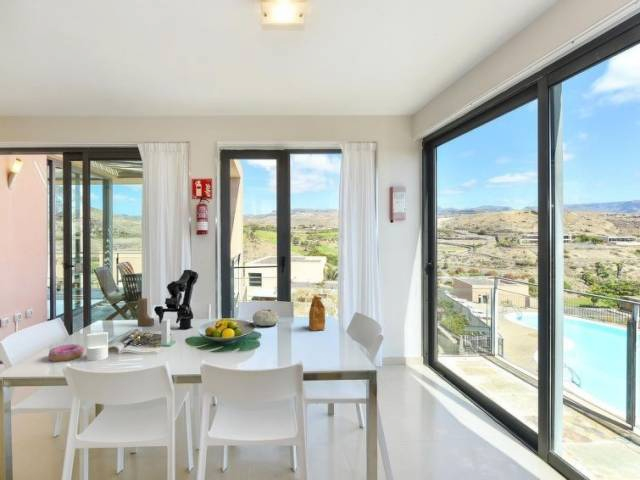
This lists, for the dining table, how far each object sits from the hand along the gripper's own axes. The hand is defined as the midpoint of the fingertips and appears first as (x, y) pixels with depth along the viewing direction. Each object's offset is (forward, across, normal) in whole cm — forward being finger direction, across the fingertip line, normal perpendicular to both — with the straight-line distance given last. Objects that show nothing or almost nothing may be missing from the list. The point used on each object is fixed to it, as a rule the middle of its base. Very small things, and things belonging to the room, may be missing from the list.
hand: (168, 323), depth 203 cm
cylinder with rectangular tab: (+25, -26, -9) cm, 37 cm away
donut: (+24, -41, -8) cm, 49 cm away
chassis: (+6, -16, +9) cm, 20 cm away
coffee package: (-11, +86, +27) cm, 91 cm away
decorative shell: (-19, +52, +34) cm, 65 cm away
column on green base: (+10, 0, +5) cm, 12 cm away
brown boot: (-19, -28, +34) cm, 48 cm away
